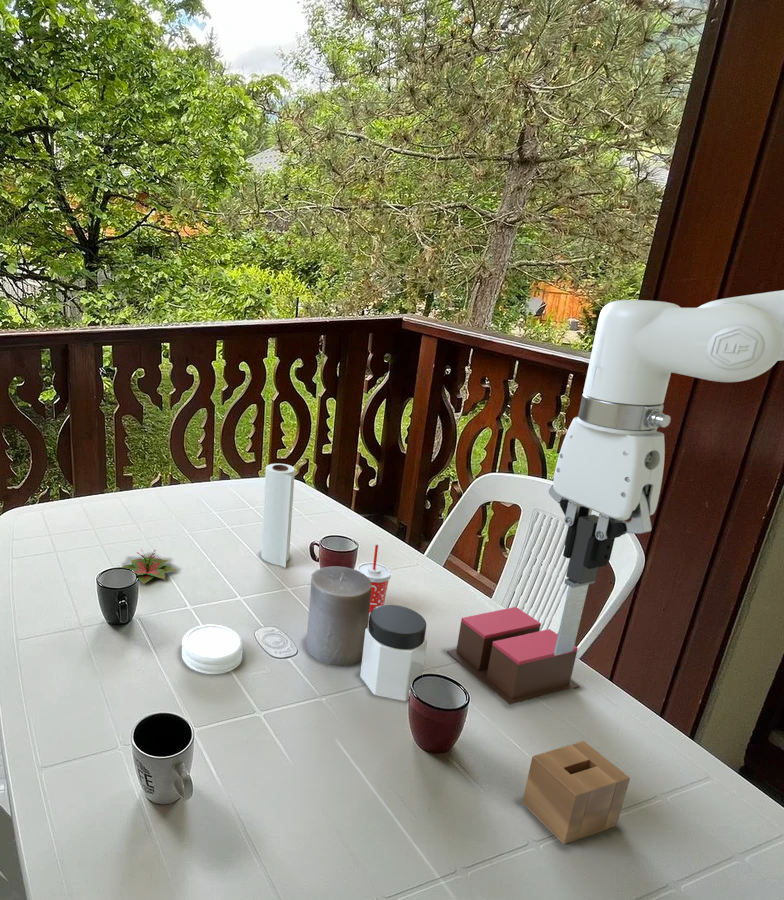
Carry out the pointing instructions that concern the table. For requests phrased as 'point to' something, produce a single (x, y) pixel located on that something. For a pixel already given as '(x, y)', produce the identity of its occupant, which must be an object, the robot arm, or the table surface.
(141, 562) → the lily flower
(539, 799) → the knife block
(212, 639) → the coaster
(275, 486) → the paper towel roll
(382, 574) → the beverage cup
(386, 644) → the jar
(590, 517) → the knife
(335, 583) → the pillar candle
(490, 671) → the cake
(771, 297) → the robot arm
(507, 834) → the table surface
